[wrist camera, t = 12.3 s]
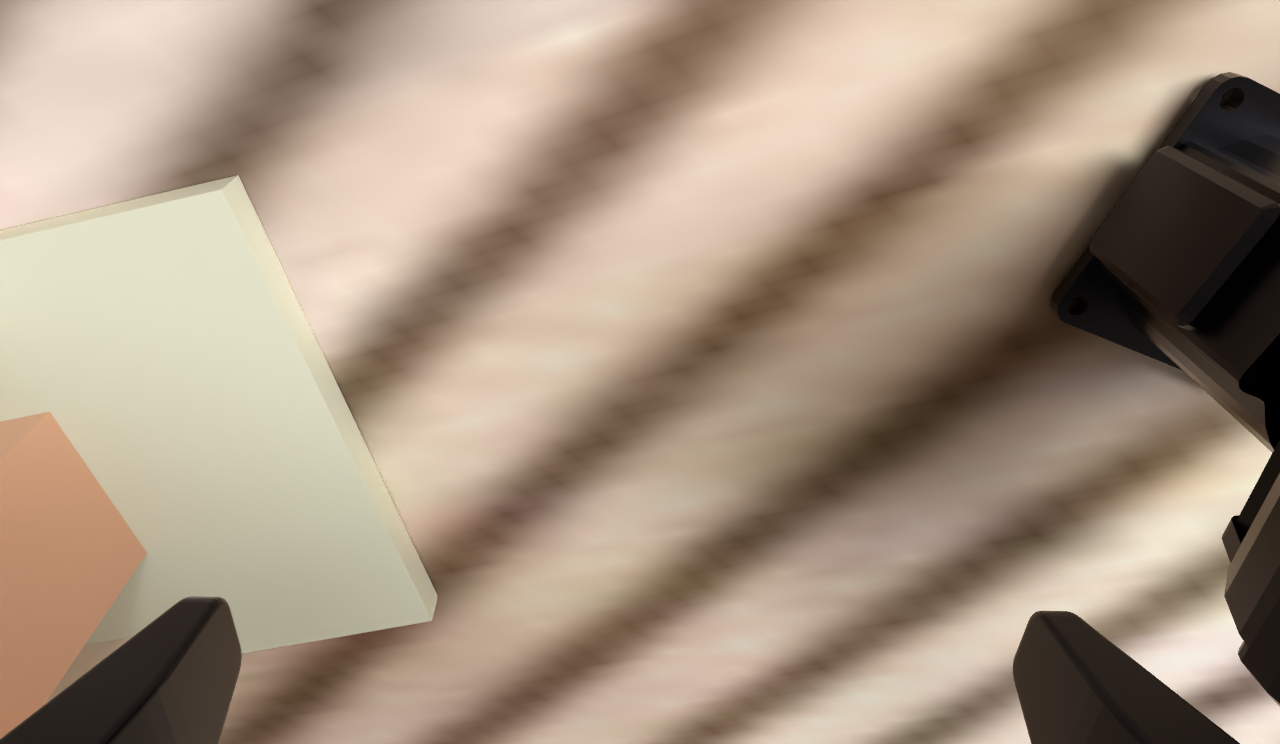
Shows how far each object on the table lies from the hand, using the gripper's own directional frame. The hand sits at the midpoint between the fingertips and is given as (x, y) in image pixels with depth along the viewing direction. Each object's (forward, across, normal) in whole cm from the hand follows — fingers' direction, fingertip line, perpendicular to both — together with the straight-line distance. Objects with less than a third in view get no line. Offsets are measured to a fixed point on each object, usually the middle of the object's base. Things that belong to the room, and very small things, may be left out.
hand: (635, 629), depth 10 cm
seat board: (+13, +15, +8) cm, 22 cm away
